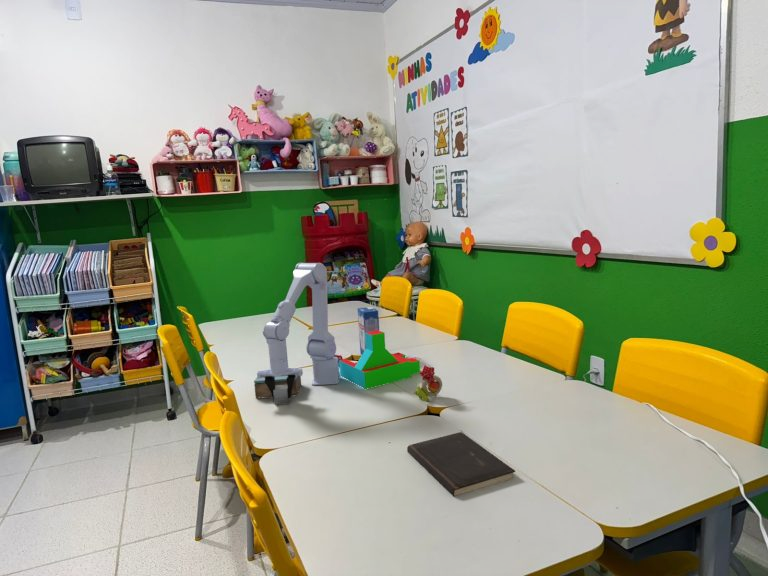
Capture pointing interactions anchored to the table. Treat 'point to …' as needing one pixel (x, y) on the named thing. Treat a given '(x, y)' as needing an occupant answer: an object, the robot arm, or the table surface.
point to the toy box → (264, 391)
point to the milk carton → (367, 324)
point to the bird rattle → (428, 380)
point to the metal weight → (281, 394)
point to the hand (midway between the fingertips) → (282, 397)
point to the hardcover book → (459, 463)
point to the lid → (277, 379)
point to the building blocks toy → (378, 364)
